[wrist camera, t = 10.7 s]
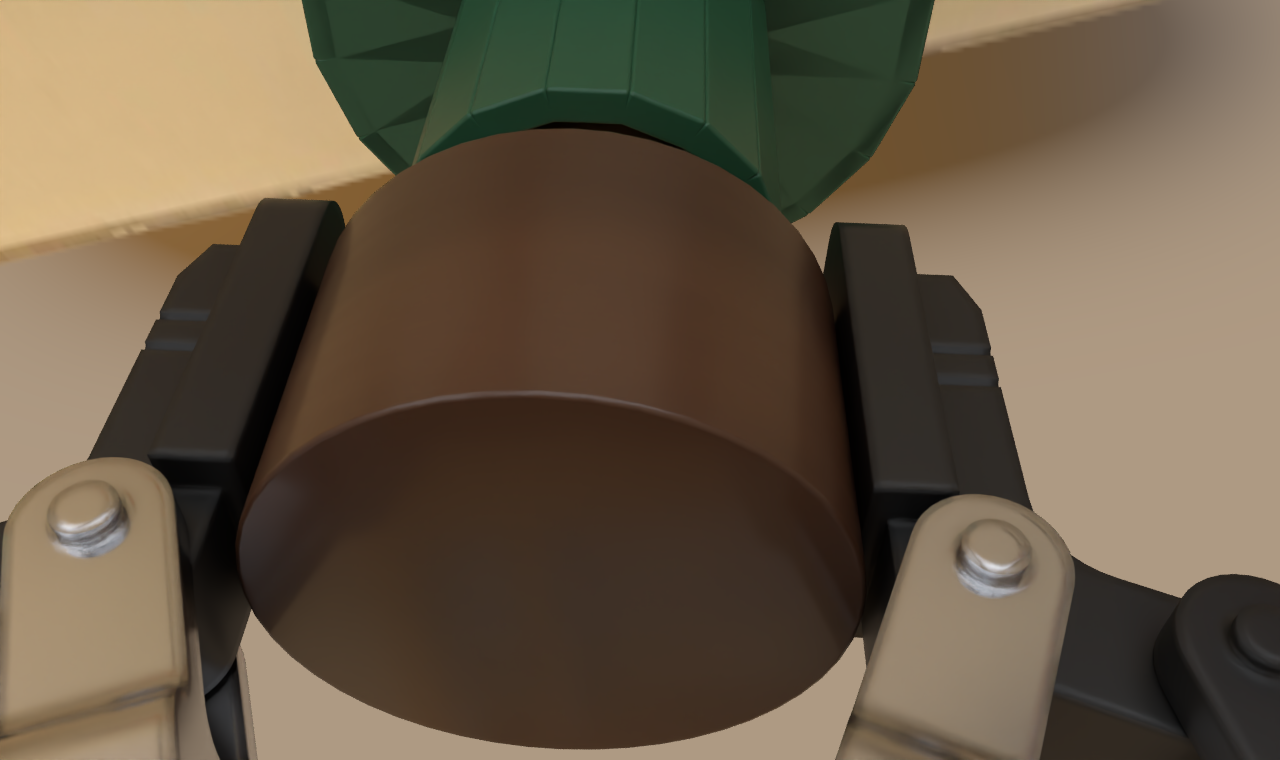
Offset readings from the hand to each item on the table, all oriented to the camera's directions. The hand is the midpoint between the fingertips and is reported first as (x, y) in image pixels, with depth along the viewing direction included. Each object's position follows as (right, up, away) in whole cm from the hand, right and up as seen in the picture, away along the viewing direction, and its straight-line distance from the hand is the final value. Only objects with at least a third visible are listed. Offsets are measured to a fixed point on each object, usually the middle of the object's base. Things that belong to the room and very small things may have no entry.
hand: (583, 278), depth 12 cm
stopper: (0, +2, +2) cm, 2 cm away
